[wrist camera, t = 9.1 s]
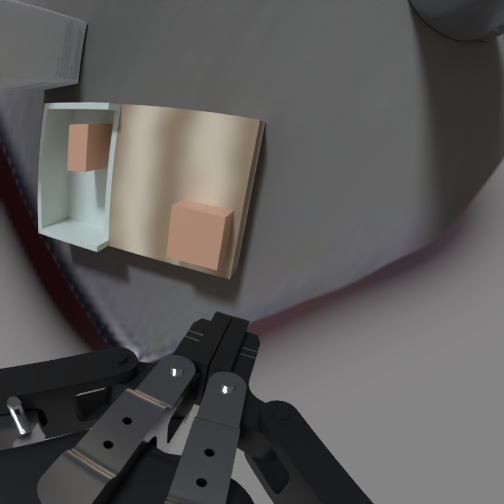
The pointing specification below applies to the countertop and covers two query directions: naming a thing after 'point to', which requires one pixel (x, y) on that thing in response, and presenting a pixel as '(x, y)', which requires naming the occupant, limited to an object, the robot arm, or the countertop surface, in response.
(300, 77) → the countertop surface
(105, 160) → the tile
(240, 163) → the board
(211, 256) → the tile
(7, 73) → the skincare box
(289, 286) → the countertop surface
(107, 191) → the box
